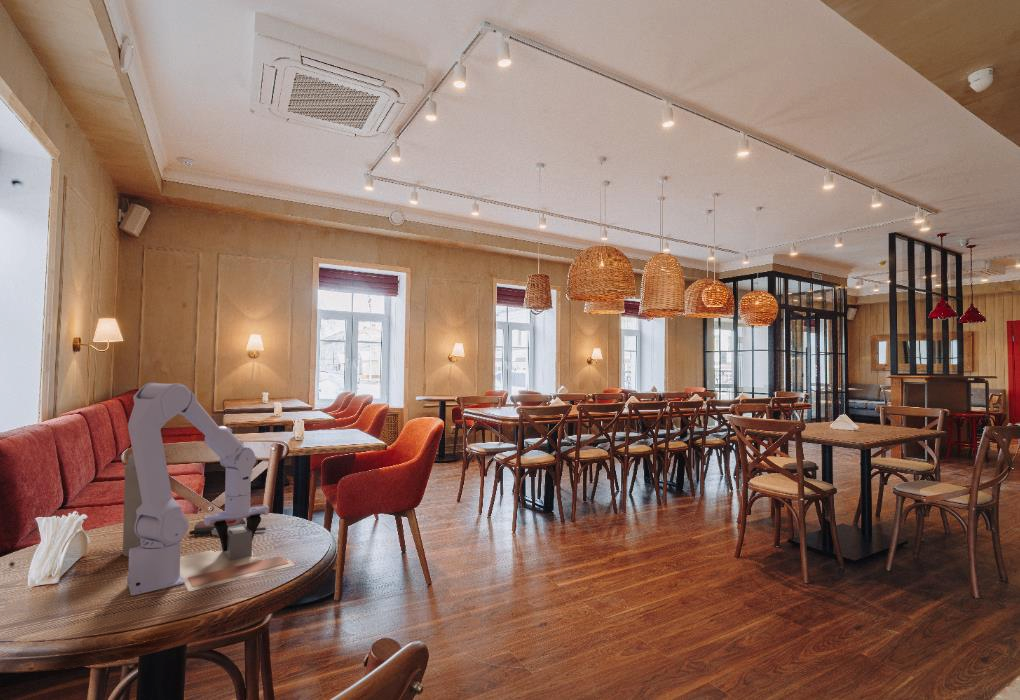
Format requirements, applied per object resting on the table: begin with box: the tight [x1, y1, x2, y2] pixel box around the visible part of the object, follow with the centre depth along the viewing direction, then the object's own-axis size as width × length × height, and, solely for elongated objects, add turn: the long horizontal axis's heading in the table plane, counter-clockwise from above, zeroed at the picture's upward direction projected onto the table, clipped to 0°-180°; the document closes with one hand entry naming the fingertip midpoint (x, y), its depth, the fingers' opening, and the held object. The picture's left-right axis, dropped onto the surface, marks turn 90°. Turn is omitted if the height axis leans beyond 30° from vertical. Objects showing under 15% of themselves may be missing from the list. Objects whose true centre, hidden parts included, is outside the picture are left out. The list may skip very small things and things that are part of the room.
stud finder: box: [222, 524, 253, 561], centre depth 129 cm, size 5×8×6 cm, turn 41°
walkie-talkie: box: [188, 518, 267, 537], centre depth 146 cm, size 9×4×20 cm
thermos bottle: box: [122, 453, 142, 558], centre depth 131 cm, size 8×8×28 cm
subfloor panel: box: [180, 549, 296, 593], centre depth 124 cm, size 22×24×1 cm
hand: (236, 547), depth 129 cm, fingers closed on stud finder, 5 cm apart
